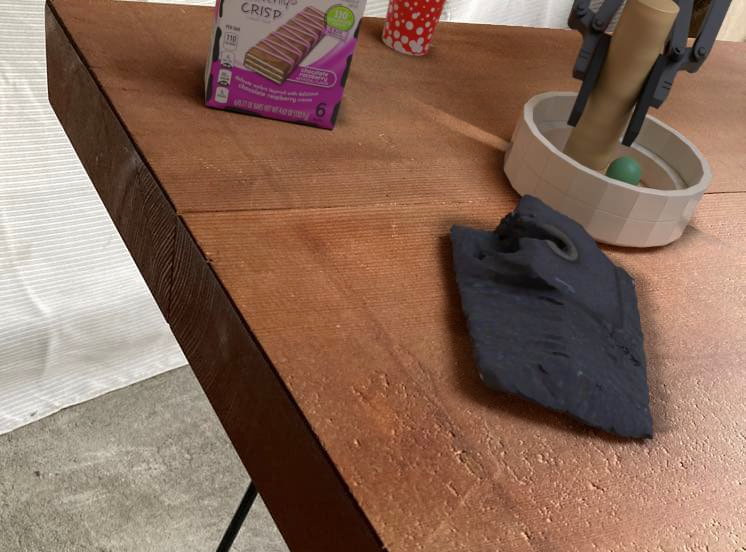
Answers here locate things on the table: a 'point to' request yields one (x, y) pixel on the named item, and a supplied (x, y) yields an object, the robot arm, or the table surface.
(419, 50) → the beverage cup
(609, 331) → the dark slate chunk
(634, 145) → the wide hollow ring
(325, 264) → the table surface
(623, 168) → the bead
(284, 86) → the candy bar box
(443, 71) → the table surface
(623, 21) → the cylinder
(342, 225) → the table surface
